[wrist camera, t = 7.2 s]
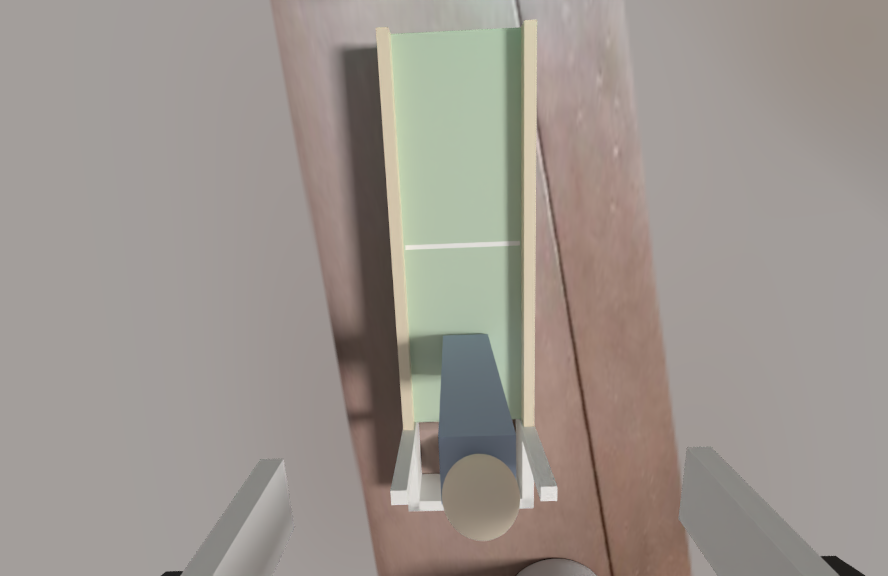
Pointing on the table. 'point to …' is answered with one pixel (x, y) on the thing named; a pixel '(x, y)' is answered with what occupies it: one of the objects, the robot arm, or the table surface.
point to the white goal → (426, 488)
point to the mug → (556, 568)
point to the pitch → (461, 203)
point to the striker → (476, 441)
